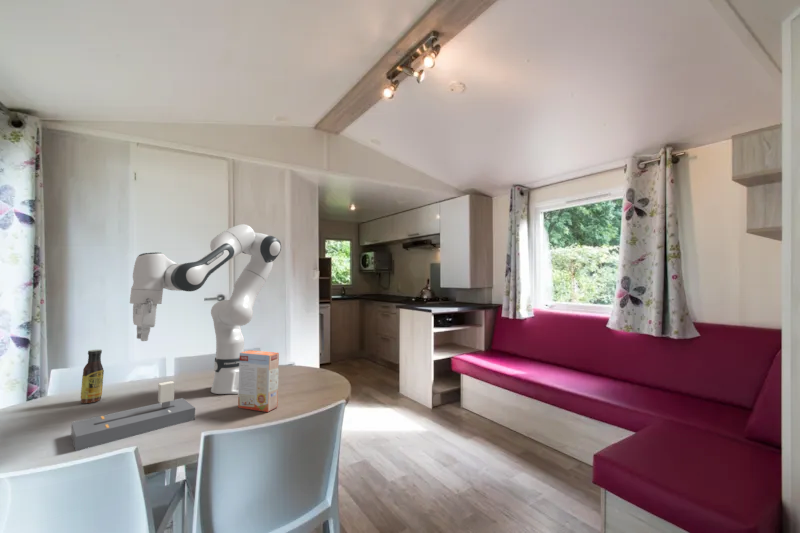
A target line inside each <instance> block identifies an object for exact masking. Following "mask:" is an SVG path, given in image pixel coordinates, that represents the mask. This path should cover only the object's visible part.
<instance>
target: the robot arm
mask: <svg viewBox="0 0 800 533" xmlns="http://www.w3.org/2000/svg"><path fill="white" fill-rule="evenodd" d="M209 245H210V252H208V253H207V254H206V255H204V256H203V257H201V258H200V259H198V260H196V261H192V262H185V263H178V262H175V261H173V260H171V258H169V257H167V255H165V254H164V253H162V252H158V251H157V252H156V251H155V252H144V253H140V254H138V255H137V257H136V260H135V261H134V265H133V266H134V267H133V271H132V280H133V282H132V286H131V290H130V297H129V304H132V305H133V306H132V321H133V322H132V323H133V325H135V326H136V339H138V340H140V341H141V342H147V341H148V340H149V335H150V332H151V328H155V326H156V321H157V320H156V318H157V317H156V316H157V309H158V305H161V304H162V301H163V293H164V292H163V291H164V289H166V290H168V291H179V292H180V291H183V292H195V291H197V290H199V289H200V288H202V287H203V286H204V284H205V283H206V282H207V280H208V278H209V277H210V276H211V275H213V273H215V271H217V270H218V269H219V268H221V267H222V266H223V265H224V264H226V263H227V262H228V261H230V260H232V259H233V258H235V257H237V256H239V255H240V254H241V253H242V254H246V255H249V256H250V261H249V262H248V263H247V265H246V266H245V267H244V269H243V270H242V272H241V273H240V274H239V276H238V278H237V279H236V281H235V283H234V285H233V291H232V292H231V296H230V298H229V299H224V300H223V299H222V300H220V301H219V300H218V301H217V302H216V303H214V304H213V305H212V307H211V309H210V315H211V317H212V321H213V327H214V332H215V340H216V341H215V358H214V362H213V367H214V370H213V371H214V374H213V376H214V378H213V382H212V385H211V387H210V392H211V393H212V394H215V395H217V394H218V395H224V394H225V395H227V394H231V395H238V392H239V359H240V353H241V352H245V338H244V335H243V332H242V329H241V327H243V326H246V325H247V324H249V323H250V322H251V320H252V319H253V316H254V312H253V310H254V305H255V303H256V300H257V297H258V295H259V294H260V292H261V290H262V288H263V287H264V285H265V283H266V282H267V280H268V278H269V276H270V274H271V272H272V269H273V266H274V262H275V260H276V259H277V258H278V256H279V255H280V253H281V251H282V243H281V241H280V239H279V238H278V237H276V236H273V235H269V234H266V233H261V232H255V230H254V229H253V228H252V227H251V226H250V225H248V224H246V223H245V224H244V223H240V224H238V225H234V226H232V227H230V228H227V229H226V230H224V231H222V232H220V233H219V234H217V235H216V236H215V237H213V238H212V239H211V241H210V244H209ZM273 261H274V262H273Z"/></svg>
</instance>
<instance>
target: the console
mask: <svg viewBox="0 0 800 533" xmlns="http://www.w3.org/2000/svg"><path fill="white" fill-rule="evenodd" d="M195 419H196V407H195V406H194V405H193V404H191V403H190V402H189V401H187V400H186V399H185V398H183V397H181V398H176V399H174V400H173V401H170V406H169V407H165V408H163V407H162V403H159V402H158V403H153V404H149V405H145V406H140V407H139V406H138V407H135V408H131V409H130V408H129V409H126V410H121V411H116V412H113V413H108V414H102V415H99V416H98V415H97V416H94V417H91V418H90V417H89V418H85V419H81V420H75V421H72V422H71V428H70V429H71V430H70V436H71V440H72V444H73V448H74V450H75V452H77V451H82V450H86V449H89V448H93V447H96V446H99V445H103V444H107V443H111V442H116V441H118V440H119V441H120V440H123V439H126V438H130V437H133V436H137V435H142V434H146V433H149V432H152V431H153V432H154V431H157V430H160V429H164V428H168V427H171V426H175V425H179V424H184V423H187V422H192V421H194V420H195ZM88 447H89V448H88ZM85 448H86V449H85ZM81 449H82V450H81Z"/></svg>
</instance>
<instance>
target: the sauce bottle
mask: <svg viewBox="0 0 800 533" xmlns="http://www.w3.org/2000/svg"><path fill="white" fill-rule="evenodd" d="M102 351H103V350H102V349H90V350H88V352H87V355H88V357H87V359H88V360H87V363H86V364H85V366H84V367H83V371H82V380H81V388H80V403H81V404H91V403H92V404H93V403H97V402H99V401H101V399H102V396H103V384H104V373H105V372H104V371H105V370H104V368H103V364H102V361H101V357H102Z"/></svg>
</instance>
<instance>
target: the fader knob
mask: <svg viewBox="0 0 800 533" xmlns="http://www.w3.org/2000/svg"><path fill="white" fill-rule="evenodd" d="M173 400H175V382H174V381H173V380H171V381H164V382H159V383H158V390H157V402H158V403H162V407H163V408H165V407H169V406H170V401H173Z"/></svg>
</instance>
